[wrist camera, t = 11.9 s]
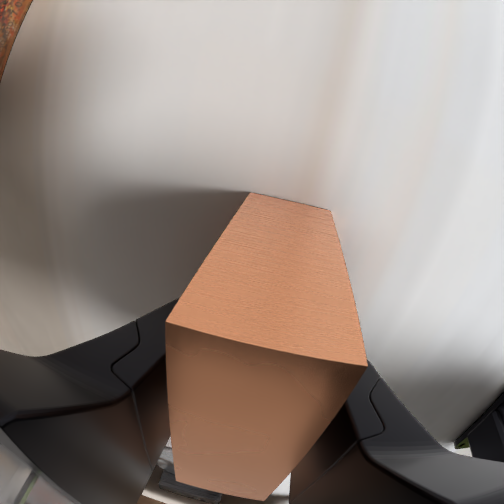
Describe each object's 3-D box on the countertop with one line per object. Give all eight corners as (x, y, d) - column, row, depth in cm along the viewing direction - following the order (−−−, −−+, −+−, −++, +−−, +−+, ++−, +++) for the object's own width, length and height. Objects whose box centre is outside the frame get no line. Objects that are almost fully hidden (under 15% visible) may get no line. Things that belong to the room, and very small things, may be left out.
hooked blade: (330, 210, 8) (368, 365, 3) (230, 487, 19) (215, 544, 14) (151, 174, 9) (-2, 256, 3) (166, 470, 19) (146, 524, 14)
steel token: (209, 456, 17) (206, 465, 16) (211, 475, 19) (209, 483, 18) (150, 440, 17) (146, 448, 16) (160, 462, 19) (157, 469, 18)
